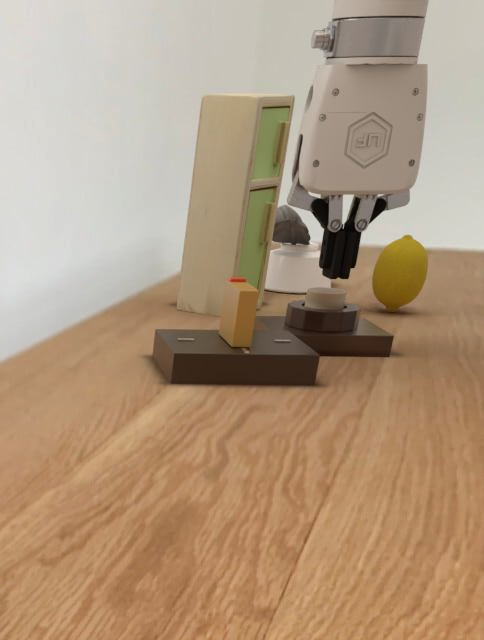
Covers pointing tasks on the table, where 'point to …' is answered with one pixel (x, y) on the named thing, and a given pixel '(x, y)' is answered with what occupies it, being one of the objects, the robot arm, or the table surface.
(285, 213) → the inkwell
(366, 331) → the block
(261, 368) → the plate
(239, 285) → the lock knob
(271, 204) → the toy refrigerator
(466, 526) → the table surface
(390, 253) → the lemon
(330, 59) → the robot arm
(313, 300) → the bell button
